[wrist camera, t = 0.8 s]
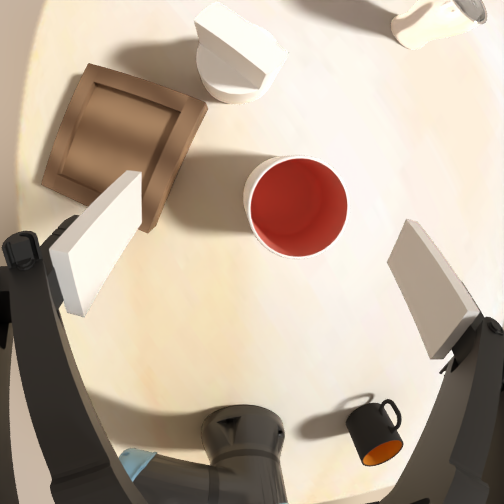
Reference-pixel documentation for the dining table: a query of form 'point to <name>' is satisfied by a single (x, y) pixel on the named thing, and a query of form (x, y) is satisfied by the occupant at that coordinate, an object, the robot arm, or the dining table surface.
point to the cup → (296, 205)
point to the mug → (375, 433)
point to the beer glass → (437, 21)
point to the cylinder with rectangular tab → (235, 55)
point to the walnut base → (122, 138)
